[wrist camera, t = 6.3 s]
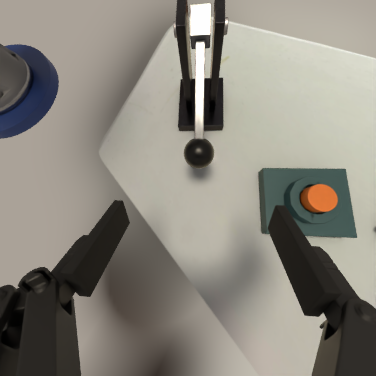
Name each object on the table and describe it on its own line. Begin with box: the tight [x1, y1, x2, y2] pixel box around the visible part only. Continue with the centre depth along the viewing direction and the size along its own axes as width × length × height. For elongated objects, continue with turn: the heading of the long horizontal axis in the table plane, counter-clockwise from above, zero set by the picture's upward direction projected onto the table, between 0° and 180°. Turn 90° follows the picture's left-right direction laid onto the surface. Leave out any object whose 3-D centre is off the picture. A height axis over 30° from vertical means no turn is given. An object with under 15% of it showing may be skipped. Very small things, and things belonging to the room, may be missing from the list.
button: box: [300, 184, 338, 212], centre depth 22 cm, size 4×4×2 cm
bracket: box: [174, 0, 228, 131], centre depth 24 cm, size 10×8×15 cm
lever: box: [184, 3, 214, 169], centre depth 20 cm, size 17×4×4 cm, turn 178°
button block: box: [259, 168, 357, 238], centre depth 24 cm, size 12×10×4 cm
